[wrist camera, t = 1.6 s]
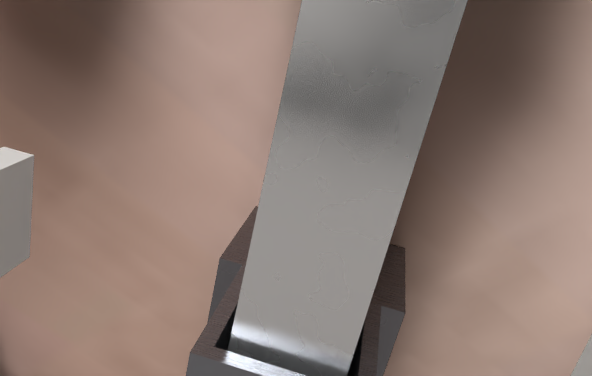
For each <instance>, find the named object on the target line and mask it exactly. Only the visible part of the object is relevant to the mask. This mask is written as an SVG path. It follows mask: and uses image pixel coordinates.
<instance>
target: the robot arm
mask: <svg viewBox="0 0 592 376" xmlns="http://www.w3.org/2000/svg"><path fill="white" fill-rule="evenodd" d="M33 171H34V155H32V154H28V153H25V152H21V151H18V150H14V149H11V148H7V147H2V148H0V277H2V276H3V275H5V274H6V273H7V272H9V271H10V270H12V269H13V268H15V267H16V266H17V265H19V264H20V263H22V262H23V261H24V260H26V259H27V258H29V257H30V236H31V214H32V193H33ZM571 376H592V335H591V337H590V339H589V341H588V343H587V345H586V347H585V349H584V351H583V353H582V355H581V356H580V358H579V360H578V362H577V364H576V366H575V368H574V370H573V372H572V374H571Z"/></svg>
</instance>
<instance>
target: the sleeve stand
mask: <svg viewBox="0 0 592 376" xmlns="http://www.w3.org/2000/svg"><path fill="white" fill-rule="evenodd" d="M257 210H258V207H257V206H256V207H255V208H254V210H253V211H252V213H251V214H250V215H249V217H248V218H247V220H246V221H245V223H244V224H243V225H242V227H241V228H240V230H239V231H238V233H237V234H236V236H235V237H234V238H233V240H232V241H231V243H230V244H229V246H228V247H227V248H226V250H225V251H224V253H223V254H222V256H221V257H220V260H219V265H218V270H217V276H216V281H215V286H214V291H213V297H212V302H211V307H210V312H209V318H208V323H207V325H206V327H205V328H204V330H203V332H202V333H201V335H200V337H199V338H198V340H197V342H196V343H195V345H194V347H193V348H192V350H191V352H190V356H189V361H188V367H187V372H186V376H306V375H303V374H300V373H297V372H293V371H290V370H287V369H284V368H281V367H277V366H274V365H271V364H268V363H265V362H261V361H258V360H255V359H252V358H249V357H245V356H242V355H239V354H236V353H233V352H229V351H228V347H229V342H230V337H231V333H232V328H233V323H234V319H235V314H236V309H237V304H238V300H239V295H240V290H241V286H242V281H243V276H244V272H245V267H246V262H247V257H248V253H249V248H250V243H251V239H252V234H253V229H254V224H255V220H256V215H257ZM404 315H405V248H401V247H398V246H394V245H390V244H389V246H388V249H387V252H386V255H385V258H384V262H383V265H382V268H381V271H380V274H379V277H378V280H377V283H376V286H375V289H374V293H373V296H372V299H371V302H370V305H369V308H368V311H367V314H366V317H365V321H364V324H363V327H362V330H361V333H360V336H359V339H358V342H357V345H356V348H355V352H354V355H353V358H352V361H351V364H350V367H349V370H348V373H347V376H383V374H384V371H385V369H386V366H387V363H388V360H389V357H390V354H391V352H392V349H393V346H394V343H395V340H396V338H397V335H398V332H399V329H400V326H401V323H402V321H403V318H404Z"/></svg>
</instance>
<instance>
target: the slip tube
mask: <svg viewBox="0 0 592 376" xmlns="http://www.w3.org/2000/svg"><path fill="white" fill-rule="evenodd" d="M467 1H468V0H302V3H301V8H300V13H299V17H298V22H297V27H296V31H295V36H294V41H293V46H292V50H291V55H290V60H289V64H288V69H287V74H286V79H285V83H284V88H283V93H282V97H281V102H280V107H279V111H278V116H277V121H276V126H275V130H274V135H273V140H272V144H271V149H270V154H269V159H268V163H267V168H266V173H265V177H264V182H263V187H262V191H261V196H260V201H259V206H258V210H257V215H256V220H255V224H254V229H253V234H252V239H251V243H250V248H249V253H248V257H247V262H246V267H245V272H244V276H243V281H242V286H241V290H240V295H239V300H238V304H237V309H236V314H235V319H234V323H233V328H232V333H231V337H230V342H229V347H228V351H229V352H233V353H236V354H239V355H242V356H245V357H249V358H252V359H255V360H258V361H261V362H265V363H268V364H271V365H274V366H277V367H281V368H284V369H287V370H290V371H293V372H297V373H300V374H303V375H306V376H347V373H348V370H349V367H350V364H351V361H352V358H353V355H354V352H355V348H356V345H357V342H358V339H359V336H360V333H361V330H362V327H363V324H364V321H365V317H366V314H367V311H368V308H369V305H370V302H371V299H372V296H373V293H374V289H375V286H376V283H377V280H378V277H379V274H380V271H381V268H382V265H383V262H384V258H385V255H386V252H387V249H388V246H389V243H390V240H391V237H392V234H393V230H394V227H395V224H396V221H397V218H398V215H399V212H400V209H401V206H402V203H403V199H404V196H405V193H406V190H407V187H408V184H409V181H410V178H411V175H412V171H413V168H414V165H415V162H416V159H417V156H418V153H419V150H420V147H421V144H422V140H423V137H424V134H425V131H426V128H427V125H428V122H429V119H430V116H431V113H432V109H433V106H434V103H435V100H436V97H437V94H438V91H439V88H440V85H441V81H442V78H443V75H444V72H445V69H446V66H447V63H448V60H449V57H450V54H451V50H452V47H453V44H454V41H455V38H456V35H457V32H458V29H459V26H460V22H461V19H462V16H463V13H464V10H465V7H466V4H467Z"/></svg>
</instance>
